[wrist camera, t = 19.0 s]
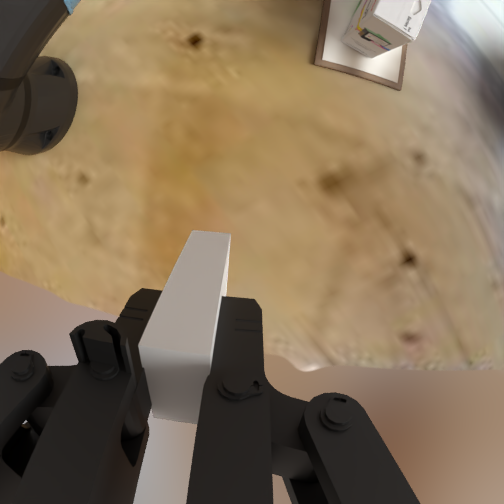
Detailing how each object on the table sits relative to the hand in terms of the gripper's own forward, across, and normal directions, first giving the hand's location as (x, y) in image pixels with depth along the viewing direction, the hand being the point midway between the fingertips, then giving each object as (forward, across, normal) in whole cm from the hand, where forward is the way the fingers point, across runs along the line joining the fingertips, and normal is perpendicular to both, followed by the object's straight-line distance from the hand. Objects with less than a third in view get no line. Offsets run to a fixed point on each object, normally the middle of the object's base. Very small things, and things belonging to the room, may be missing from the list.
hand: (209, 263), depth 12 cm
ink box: (+27, +14, +21) cm, 37 cm away
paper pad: (+28, +14, +21) cm, 38 cm away
